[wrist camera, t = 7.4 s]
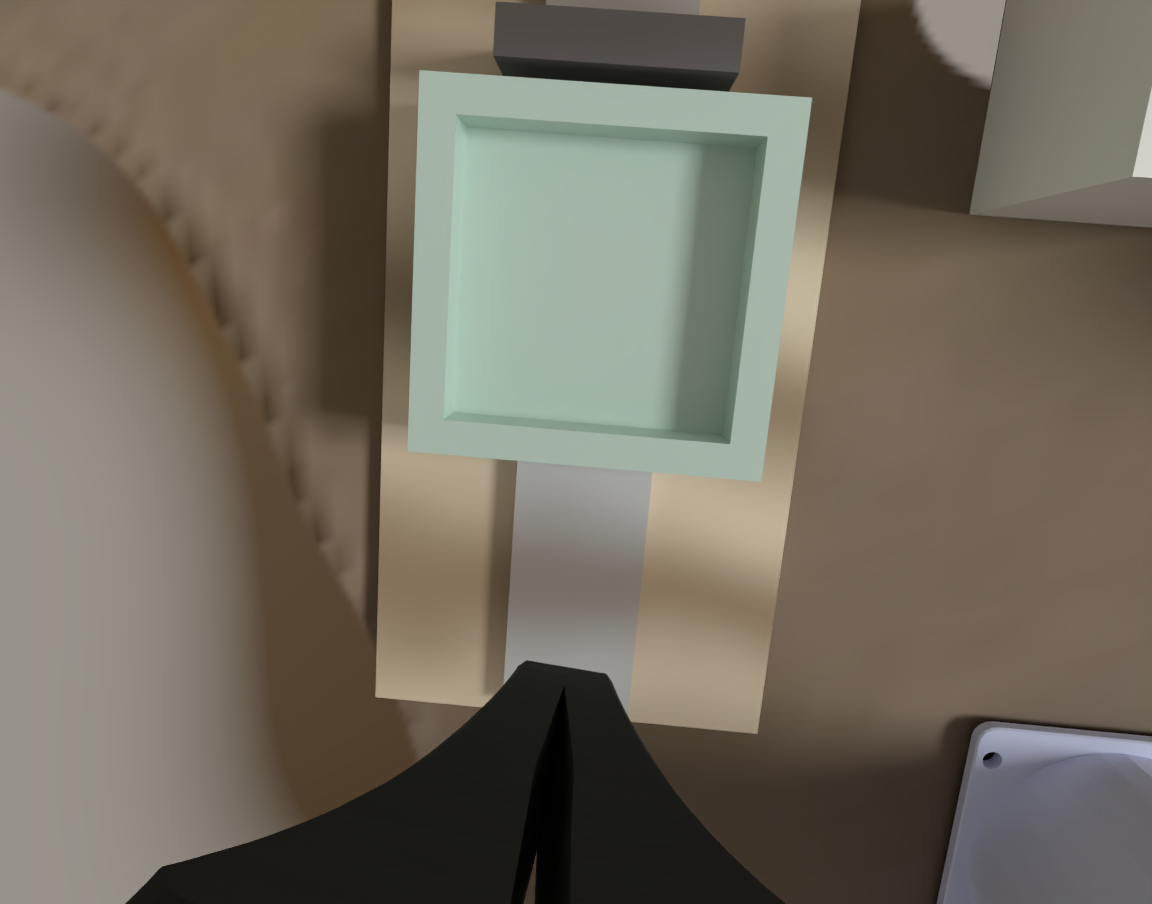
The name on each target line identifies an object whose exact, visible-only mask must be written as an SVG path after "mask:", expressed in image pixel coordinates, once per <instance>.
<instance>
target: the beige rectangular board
mask: <svg viewBox="0 0 1152 904" xmlns="http://www.w3.org/2000/svg"><path fill="white" fill-rule="evenodd" d="M860 4H861V0H392V30H391V72H390V113H389V155H388V197H387V238H386V280H385V321H384V363H383V405H382V446H381V488H380V530H379V571H378V613H377V655H376V697H380V698H391V699H401V700H411V701H422V702H432V703H442V704H453V705H463V706H473V707H483V706H484V705H485V704H486V703H487V702H488V701H489V700H490V699H491V698H492V697H493V696H494V695H495V694H496V693H497V692H498V690H499V689H500V688H501V687H502V686H503V685H504V684H505V683H506V681H507V680H508V679H509V678H510V677H511V675H512V674H513V673H514V671H515V670H516V668H517V667H518V666H519V665H520V664H522V663H523V662H525V661H526V660H528V661H534V662H540V663H546V664H552V665H558V666H564V667H570V668H576V669H582V670H587V671H593V672H599V673H605V674H607V675H608V677H609V678H610V680H611V681H612V683H613V685H614V688H615V690H616V692H617V695H618V697H619V699H620V701H621V703H622V705H623V707H624V709H625V711H626V713H627V715H628V717H629V719H630V721H631V722H639V723H649V724H660V725H670V726H681V727H691V728H701V729H712V730H722V731H732V732H743V733H753V734H757V732H758V725H759V718H760V711H761V704H762V697H763V690H764V683H765V676H766V669H767V662H768V655H769V648H770V641H771V633H772V626H773V619H774V612H775V605H776V598H777V591H778V584H779V577H780V570H781V563H782V556H783V549H784V542H785V535H786V527H787V520H788V513H789V506H790V499H791V492H792V485H793V478H794V471H795V464H796V457H797V450H798V443H799V436H800V429H801V421H802V414H803V407H804V400H805V393H806V386H807V379H808V372H809V365H810V358H811V351H812V344H813V337H814V330H815V323H816V315H817V308H818V301H819V294H820V287H821V280H822V273H823V266H824V259H825V252H826V245H827V238H828V231H829V224H830V216H831V209H832V202H833V195H834V188H835V181H836V174H837V167H838V160H839V153H840V146H841V139H842V132H843V125H844V118H845V110H846V103H847V96H848V89H849V82H850V75H851V68H852V61H853V54H854V47H855V40H856V33H857V26H858V19H859V12H860ZM419 70H425V71H439V72H453V73H468V74H482V75H496V76H511V77H525V78H539V79H553V80H568V81H582V82H596V83H610V84H625V85H639V86H653V87H667V88H682V89H696V90H710V91H725V92H739V93H753V94H767V95H782V96H796V97H810V98H812V104H811V111H810V119H809V126H808V134H807V142H806V149H805V157H804V164H803V172H802V179H801V187H800V194H799V202H798V209H797V217H796V225H795V232H794V240H793V247H792V255H791V262H790V270H789V277H788V285H787V292H786V300H785V308H784V315H783V323H782V330H781V338H780V345H779V353H778V360H777V368H776V375H775V383H774V391H773V398H772V406H771V413H770V421H769V428H768V436H767V443H766V451H765V458H764V466H763V474H762V481H761V482H758V481H746V480H734V479H723V478H711V477H700V476H688V475H676V474H665V473H653V472H642V471H630V470H618V469H607V468H595V467H583V466H572V465H560V464H549V463H537V462H525V461H514V460H502V459H491V458H479V457H467V456H456V455H444V454H433V453H421V452H409V451H407V450H408V419H409V387H410V355H411V323H412V291H413V259H414V227H415V195H416V164H417V132H418V100H419Z"/></svg>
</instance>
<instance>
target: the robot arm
mask: <svg viewBox="0 0 1152 904" xmlns="http://www.w3.org/2000/svg"><path fill="white" fill-rule="evenodd" d="M990 752H995V754H994V755H993V757H992V758H990V759H989V760H983V758H984V756H985V755H986V754H988V753H990ZM536 852H537V861H536V884H535V904H785V903H784V902H783V901H781V900H780V899H779V898H778V897H777V896H776V895H774V894H773V893H772V892H771V891H770V890H768V889H767V888H766V887H765V886H764V885H763V884H762V883H760V882H759V881H758V880H757V879H756V878H755V877H754V876H753V875H752V874H751V873H750V872H749V871H748V870H747V869H745V868H744V867H743V866H742V865H741V864H740V863H739V862H738V861H737V860H736V859H735V858H734V857H733V856H732V855H730V854H729V852H728V851H727V850H726V849H725V848H724V847H723V846H722V845H721V844H720V843H719V842H718V841H717V840H716V839H715V838H714V837H713V836H712V835H711V834H710V833H709V832H708V830H707V829H706V828H705V827H704V826H703V825H702V824H701V822H700V821H699V820H698V819H697V818H696V817H695V816H694V814H693V813H692V812H691V811H690V810H689V809H688V808H687V806H686V805H685V804H684V803H683V801H682V800H681V799H680V798H679V796H678V795H677V794H676V792H675V791H674V790H673V788H672V787H671V785H670V784H669V783H668V781H667V780H666V778H665V777H664V775H663V774H662V773H661V771H660V769H659V768H658V766H657V765H656V763H655V762H654V760H653V759H652V757H651V755H650V754H649V752H648V750H647V749H646V747H645V745H644V744H643V742H642V740H641V739H640V737H639V735H638V734H637V732H636V730H635V728H634V726H633V725H632V723H631V721H630V719H629V717H628V715H627V713H626V711H625V709H624V707H623V705H622V703H621V701H620V699H619V697H618V695H617V692H616V690H615V688H614V685H613V683H612V681H611V680H610V678H609V677H608V675H607V674H605V673H599V672H593V671H587V670H582V669H576V668H570V667H564V666H558V665H552V664H546V663H540V662H534V661H528V660H526V661H525V662H523V663H522V664H520V665H519V666H518V667H517V668H516V670H515V671H514V673H513V674H512V675H511V677H510V678H509V679H508V680H507V681H506V683H505V684H504V685H503V686H502V687H501V688H500V689H499V690H498V692H497V693H496V694H495V695H494V696H493V697H492V698H491V699H490V700H489V701H488V702H487V703H486V704H485V705H484V706H483V707H482V708H481V709H480V710H479V711H478V712H477V713H476V714H475V715H474V716H473V717H472V718H471V719H470V720H469V721H468V722H466V723H465V724H464V725H463V726H462V727H461V728H459V729H458V730H457V731H456V732H455V733H454V734H452V735H451V736H450V737H449V738H448V739H446V740H445V741H444V742H443V743H442V744H440V745H439V746H438V747H437V748H436V749H434V750H433V751H432V752H430V753H429V754H428V755H426V756H425V757H424V758H422V759H421V760H419V761H418V762H417V763H415V764H414V765H412V766H411V767H410V768H408V769H406V770H405V771H403V772H402V773H400V774H399V775H397V776H396V777H394V778H393V779H391V780H389V781H388V782H386V783H385V784H383V785H381V786H379V787H377V788H375V789H373V790H371V791H369V792H367V793H365V794H363V795H362V796H359V797H357V798H356V799H354V800H352V801H350V802H348V803H346V804H344V805H342V806H340V807H338V808H336V809H334V810H332V811H329V812H327V813H325V814H323V815H320V816H318V817H316V818H313V819H311V820H308V821H306V822H304V823H301V824H299V825H296V826H293V827H291V828H288V829H285V830H283V831H280V832H277V833H275V834H272V835H269V836H267V837H264V838H261V839H258V840H255V841H252V842H249V843H246V844H242V845H239V846H235V847H232V848H228V849H225V850H221V851H218V852H214V853H211V854H207V855H204V856H200V857H197V858H193V859H190V860H186V861H183V862H179V863H175V864H171V865H167V866H163V867H161V868H160V869H159V870H158V871H157V872H156V873H155V874H154V875H153V877H152V878H151V879H150V880H149V881H148V882H147V883H146V884H145V885H144V886H143V887H142V888H141V889H140V890H139V891H138V892H137V893H136V894H135V895H134V896H133V897H132V898H131V899H130V900H129V901H128V902H127V903H126V904H523V903H524V899H525V895H526V891H527V888H528V884H529V880H530V876H531V872H532V868H533V864H534V860H535V856H536ZM937 904H1152V736H1142V735H1132V734H1121V733H1111V732H1100V731H1090V730H1079V729H1068V728H1058V727H1047V726H1037V725H1026V724H1016V723H1005V722H995V721H990V722H984V723H982V724H980V725H978V726H977V727H976V728H975V729H974V731H973V733H972V736H971V741H970V745H969V750H968V755H967V760H966V765H965V770H964V774H963V779H962V784H961V789H960V794H959V798H958V803H957V808H956V813H955V818H954V823H953V827H952V832H951V837H950V842H949V847H948V852H947V856H946V861H945V866H944V871H943V876H942V880H941V885H940V890H939V895H938V900H937Z"/></svg>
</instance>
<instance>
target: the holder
mask: <svg viewBox="0 0 1152 904" xmlns="http://www.w3.org/2000/svg"><path fill="white" fill-rule="evenodd" d="M811 104H812V98H810V97H796V96H782V95H767V94H753V93H739V92H725V91H710V90H696V89H682V88H667V87H653V86H639V85H625V84H610V83H596V82H582V81H568V80H553V79H539V78H525V77H511V76H496V75H482V74H468V73H453V72H439V71H425V70H419V100H418V132H417V164H416V195H415V227H414V259H413V291H412V323H411V355H410V387H409V419H408V450H407V451H409V452H421V453H433V454H444V455H456V456H467V457H479V458H491V459H502V460H514V461H525V462H537V463H549V464H560V465H572V466H583V467H595V468H607V469H618V470H630V471H642V472H653V473H665V474H676V475H688V476H700V477H711V478H723V479H734V480H746V481H758V482H761V481H762V474H763V466H764V458H765V451H766V443H767V436H768V428H769V421H770V413H771V406H772V398H773V391H774V383H775V375H776V368H777V360H778V353H779V345H780V338H781V330H782V323H783V315H784V308H785V300H786V292H787V285H788V277H789V270H790V262H791V255H792V247H793V240H794V232H795V225H796V217H797V209H798V202H799V194H800V187H801V179H802V172H803V164H804V157H805V149H806V142H807V134H808V126H809V119H810V111H811Z"/></svg>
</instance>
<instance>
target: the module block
mask: <svg viewBox="0 0 1152 904" xmlns="http://www.w3.org/2000/svg"><path fill="white" fill-rule="evenodd" d="M991 85H992V87H991V92H990V98H989V104H988V110H987V115H986V121H985V127H984V133H983V138H982V144H981V150H980V155H979V161H978V167H977V173H976V178H975V184H974V190H973V195H972V201H971V207H970V213H969V215H981V216H995V217H1009V218H1023V219H1037V220H1052V221H1066V222H1080V223H1094V224H1108V225H1122V226H1136V227H1150V228H1152V0H1006V2H1005V8H1004V14H1003V19H1002V25H1001V31H1000V36H999V42H998V48H997V54H996V59H995V65H994V71H993V76H992V82H991Z"/></svg>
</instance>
